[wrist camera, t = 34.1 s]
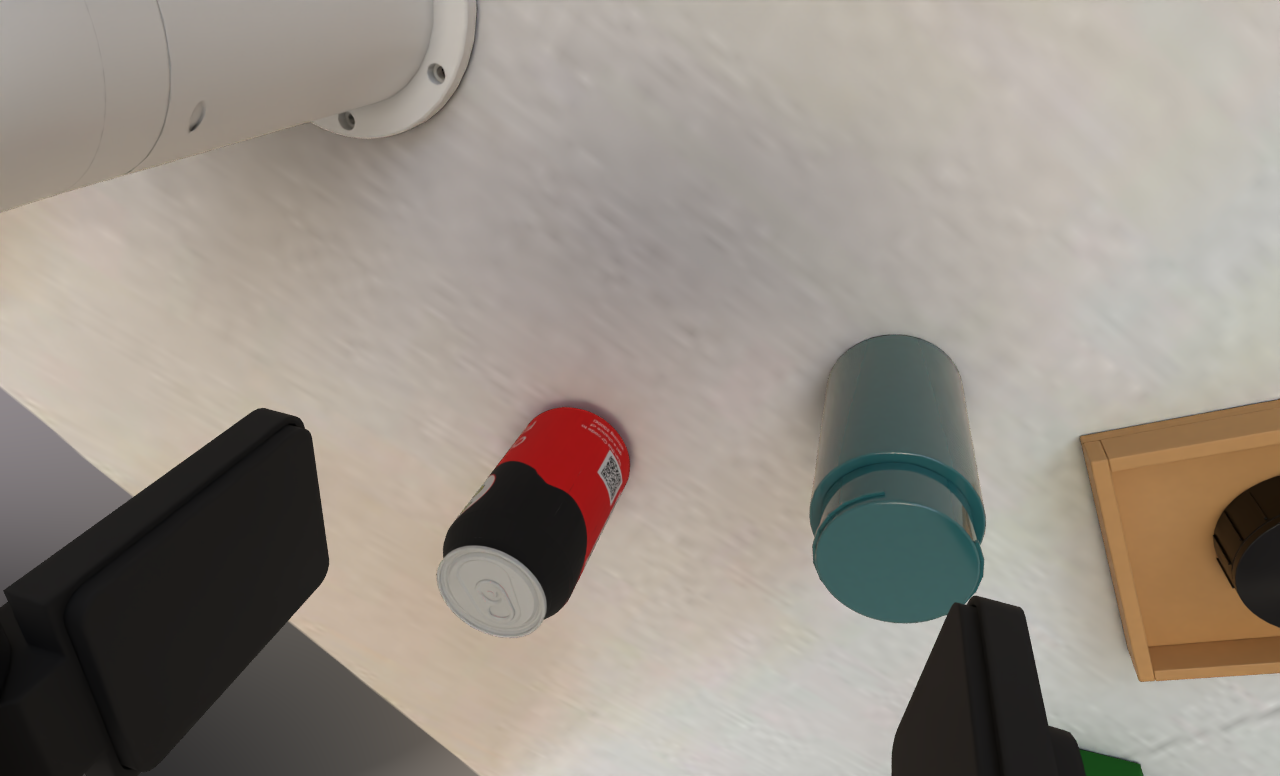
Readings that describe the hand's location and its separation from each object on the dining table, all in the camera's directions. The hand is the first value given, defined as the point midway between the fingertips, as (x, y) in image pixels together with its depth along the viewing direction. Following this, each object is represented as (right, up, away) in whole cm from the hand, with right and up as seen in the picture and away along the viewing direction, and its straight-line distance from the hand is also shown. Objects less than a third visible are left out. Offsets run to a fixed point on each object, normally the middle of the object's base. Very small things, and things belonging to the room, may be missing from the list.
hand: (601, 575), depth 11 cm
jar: (+13, +2, +26) cm, 29 cm away
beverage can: (-3, -1, +33) cm, 33 cm away
